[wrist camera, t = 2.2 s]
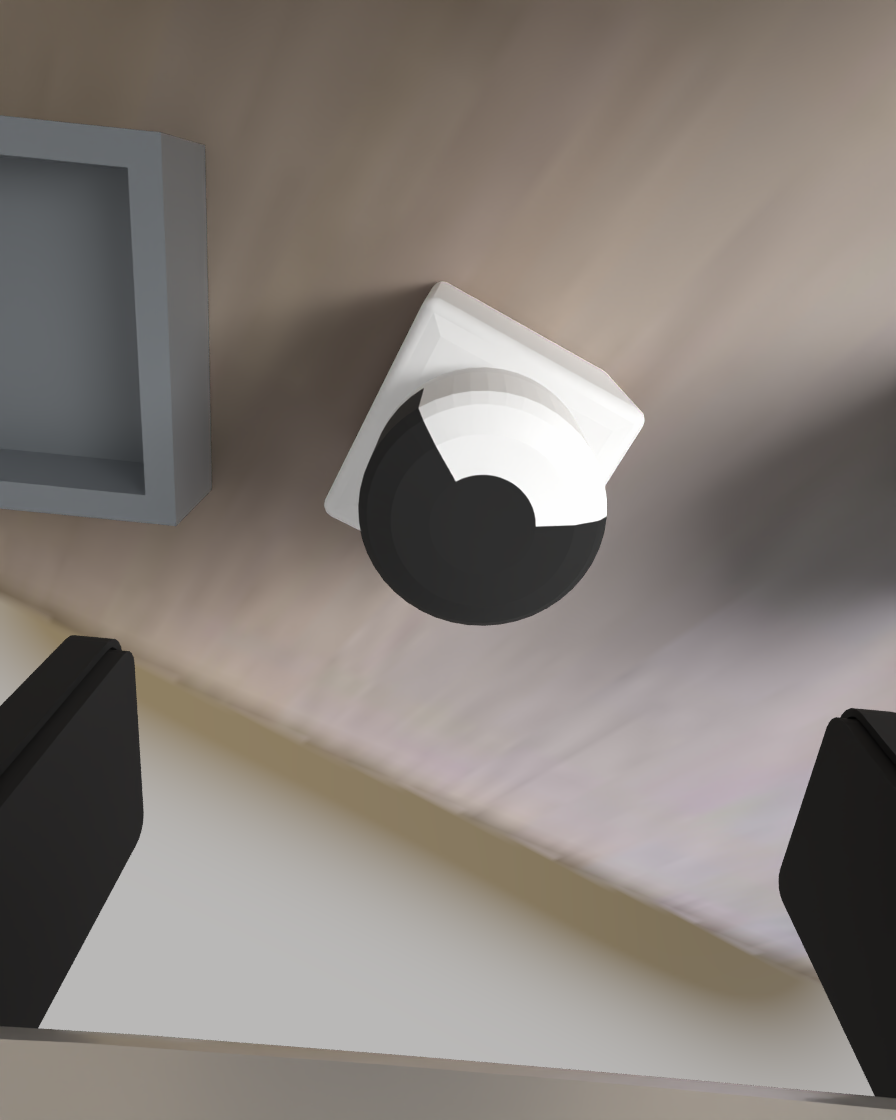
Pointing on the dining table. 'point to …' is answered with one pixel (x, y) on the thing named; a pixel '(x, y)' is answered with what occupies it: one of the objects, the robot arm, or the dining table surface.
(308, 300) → the dining table surface
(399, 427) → the medicine bottle
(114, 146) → the end holder
